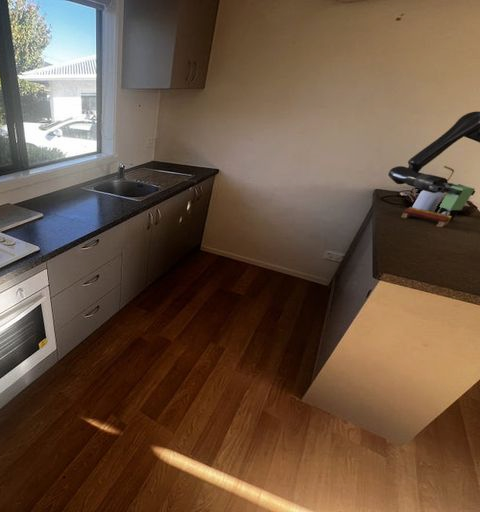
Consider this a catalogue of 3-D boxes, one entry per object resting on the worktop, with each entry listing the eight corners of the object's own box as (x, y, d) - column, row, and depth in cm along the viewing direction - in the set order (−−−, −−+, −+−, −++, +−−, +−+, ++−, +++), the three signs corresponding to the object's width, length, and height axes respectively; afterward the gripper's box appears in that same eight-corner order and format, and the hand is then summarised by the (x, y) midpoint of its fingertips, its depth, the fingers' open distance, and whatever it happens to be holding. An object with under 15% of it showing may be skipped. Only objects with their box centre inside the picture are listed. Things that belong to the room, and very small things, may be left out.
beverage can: (455, 222, 150) (470, 200, 144) (439, 220, 152) (453, 198, 146) (446, 217, 156) (460, 196, 150) (431, 216, 158) (444, 194, 152)
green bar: (450, 206, 137) (462, 185, 132) (461, 210, 132) (475, 188, 128) (439, 206, 137) (451, 185, 132) (450, 210, 133) (463, 188, 128)
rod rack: (447, 224, 147) (452, 215, 145) (441, 227, 145) (447, 218, 142) (406, 215, 160) (411, 206, 157) (400, 217, 157) (405, 208, 155)
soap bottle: (412, 206, 172) (437, 164, 160) (434, 210, 166) (461, 167, 154) (410, 209, 167) (435, 166, 155) (432, 214, 161) (460, 169, 149)
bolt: (429, 209, 171) (468, 216, 161) (431, 207, 167) (471, 214, 157) (435, 200, 170) (473, 206, 160) (436, 197, 167) (476, 203, 156)
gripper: (418, 175, 142) (455, 184, 127) (448, 175, 141) (489, 184, 126) (410, 190, 145) (445, 201, 130) (440, 190, 145) (478, 201, 130)
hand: (466, 193), depth 129 cm, fingers closed on green bar, 5 cm apart
